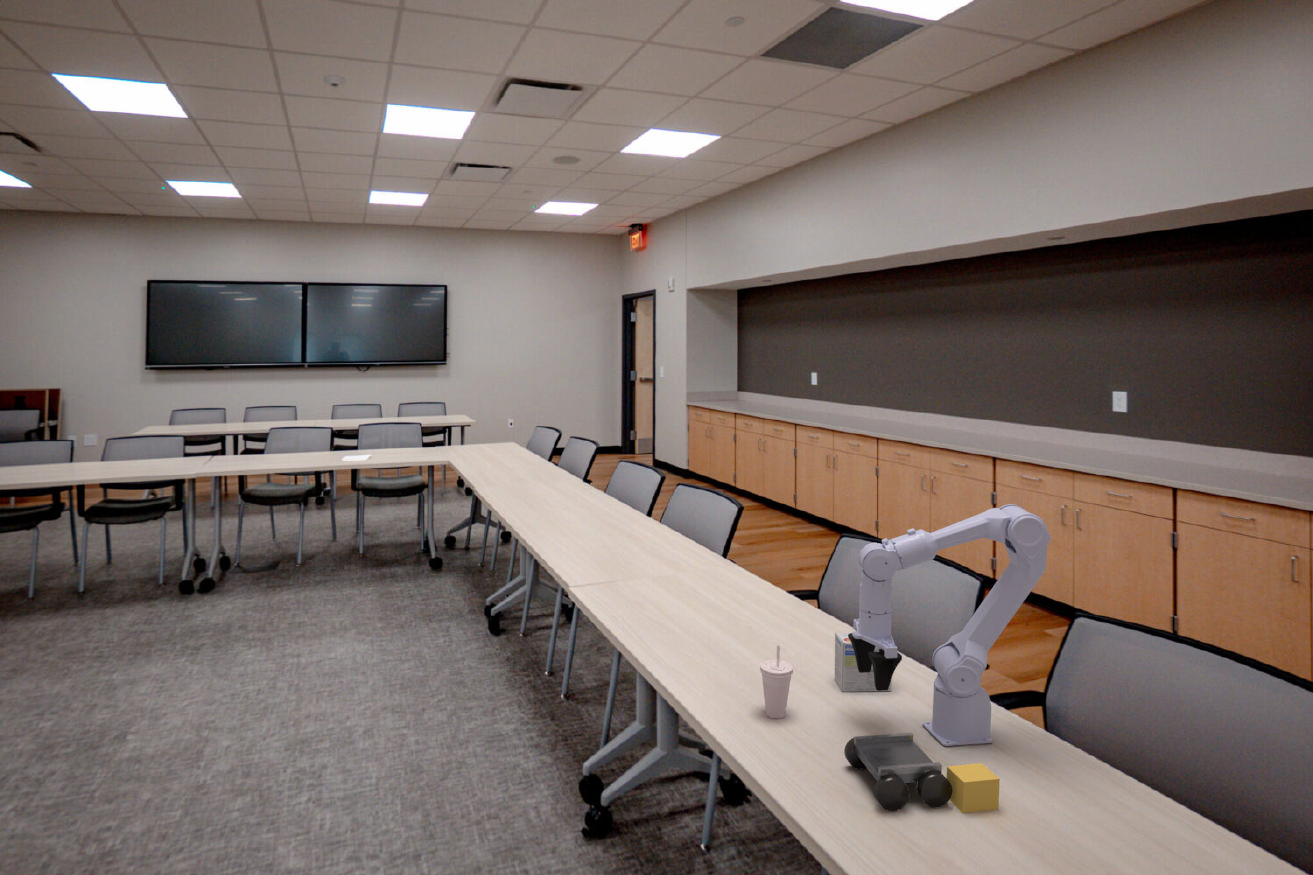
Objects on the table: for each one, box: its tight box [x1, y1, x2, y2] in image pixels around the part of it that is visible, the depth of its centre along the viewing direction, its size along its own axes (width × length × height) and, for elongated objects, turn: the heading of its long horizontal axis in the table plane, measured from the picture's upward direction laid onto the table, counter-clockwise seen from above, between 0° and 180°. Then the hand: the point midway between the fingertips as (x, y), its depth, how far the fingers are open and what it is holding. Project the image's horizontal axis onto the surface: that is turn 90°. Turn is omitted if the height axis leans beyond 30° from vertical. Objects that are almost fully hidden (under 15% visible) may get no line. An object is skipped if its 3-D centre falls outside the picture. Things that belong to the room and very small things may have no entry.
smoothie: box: [759, 644, 794, 720], centre depth 141 cm, size 6×6×14 cm
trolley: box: [843, 732, 952, 812], centre depth 117 cm, size 12×13×6 cm
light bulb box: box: [834, 631, 892, 693], centre depth 154 cm, size 11×7×11 cm, turn 92°
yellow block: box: [946, 762, 1001, 814], centre depth 113 cm, size 6×4×5 cm
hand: (872, 680), depth 135 cm, fingers open, 7 cm apart
